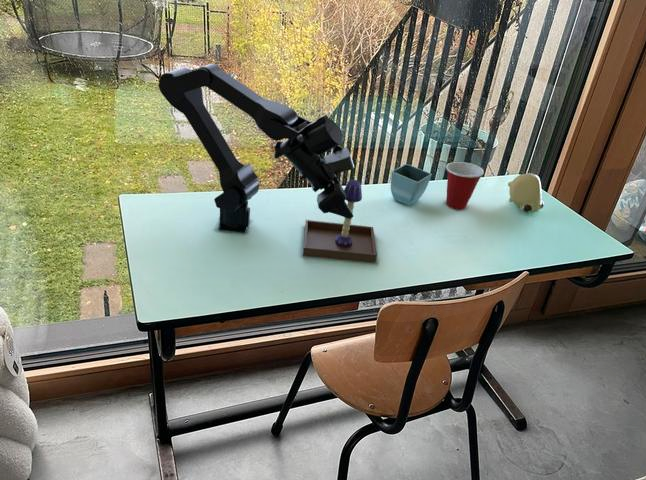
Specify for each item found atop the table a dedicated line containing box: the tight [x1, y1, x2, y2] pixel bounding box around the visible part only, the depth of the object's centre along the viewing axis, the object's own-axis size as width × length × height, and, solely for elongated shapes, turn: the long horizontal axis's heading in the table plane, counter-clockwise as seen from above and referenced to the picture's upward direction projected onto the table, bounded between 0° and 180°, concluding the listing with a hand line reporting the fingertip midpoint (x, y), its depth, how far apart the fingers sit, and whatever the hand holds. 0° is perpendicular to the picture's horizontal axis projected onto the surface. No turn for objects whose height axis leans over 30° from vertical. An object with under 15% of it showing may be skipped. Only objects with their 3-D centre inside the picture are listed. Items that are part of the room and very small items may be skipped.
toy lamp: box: [335, 179, 363, 247], centre depth 134 cm, size 5×5×17 cm
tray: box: [302, 219, 378, 264], centre depth 138 cm, size 17×13×2 cm
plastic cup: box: [445, 161, 485, 211], centre depth 164 cm, size 11×11×12 cm
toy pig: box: [507, 173, 545, 214], centre depth 171 cm, size 10×12×11 cm
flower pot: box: [390, 163, 432, 207], centre depth 162 cm, size 9×9×9 cm
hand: (348, 207), depth 133 cm, fingers open, 9 cm apart
